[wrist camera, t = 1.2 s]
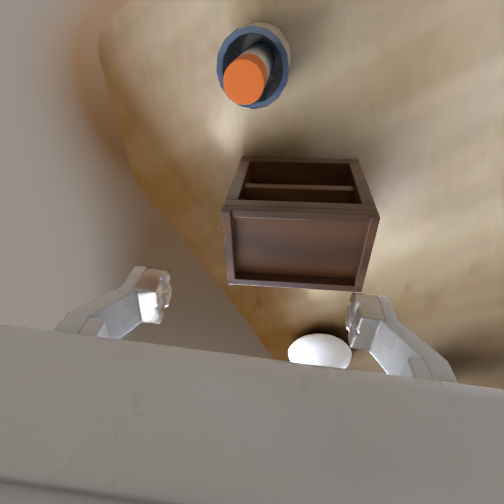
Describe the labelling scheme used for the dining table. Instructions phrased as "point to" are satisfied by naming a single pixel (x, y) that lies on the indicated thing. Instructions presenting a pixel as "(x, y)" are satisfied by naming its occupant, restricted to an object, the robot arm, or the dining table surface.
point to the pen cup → (242, 41)
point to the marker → (249, 74)
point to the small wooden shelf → (299, 224)
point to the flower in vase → (320, 351)
